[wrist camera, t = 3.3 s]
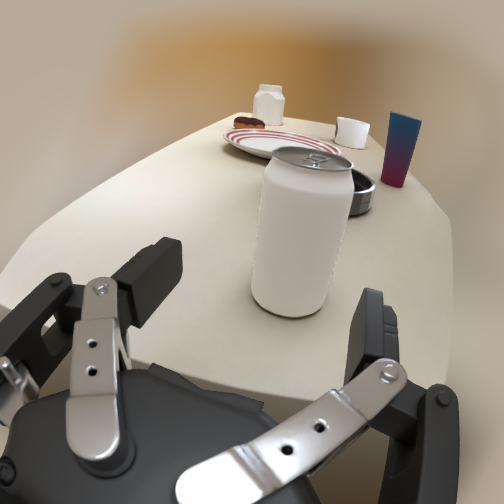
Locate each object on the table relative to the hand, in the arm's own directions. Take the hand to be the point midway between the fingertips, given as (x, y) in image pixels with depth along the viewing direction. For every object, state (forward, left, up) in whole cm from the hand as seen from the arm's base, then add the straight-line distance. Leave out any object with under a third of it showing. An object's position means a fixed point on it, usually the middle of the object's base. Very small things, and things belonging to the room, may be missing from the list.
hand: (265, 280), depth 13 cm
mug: (-59, -68, -9) cm, 90 cm away
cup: (-45, -34, -9) cm, 57 cm away
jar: (-43, -98, -9) cm, 107 cm away
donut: (-30, -82, -9) cm, 88 cm away
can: (-7, -8, -9) cm, 14 cm away
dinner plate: (-28, -54, -9) cm, 62 cm away
